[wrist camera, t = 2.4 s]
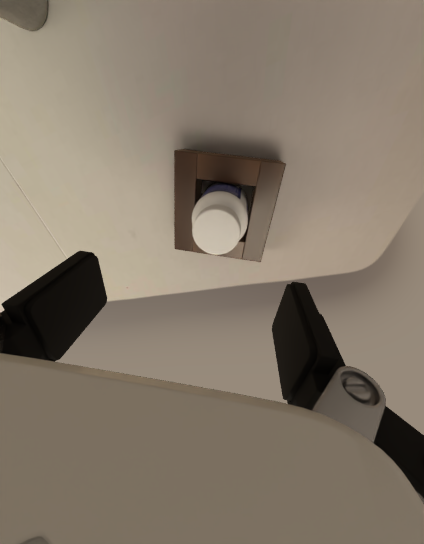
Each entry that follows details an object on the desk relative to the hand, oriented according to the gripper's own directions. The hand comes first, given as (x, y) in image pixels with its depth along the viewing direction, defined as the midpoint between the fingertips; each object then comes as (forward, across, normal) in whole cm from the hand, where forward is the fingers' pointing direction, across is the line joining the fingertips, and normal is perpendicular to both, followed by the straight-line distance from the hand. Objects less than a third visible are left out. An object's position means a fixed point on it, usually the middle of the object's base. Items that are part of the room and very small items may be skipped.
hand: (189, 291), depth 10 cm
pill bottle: (+17, -1, 0) cm, 17 cm away
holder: (+17, -1, 0) cm, 17 cm away
